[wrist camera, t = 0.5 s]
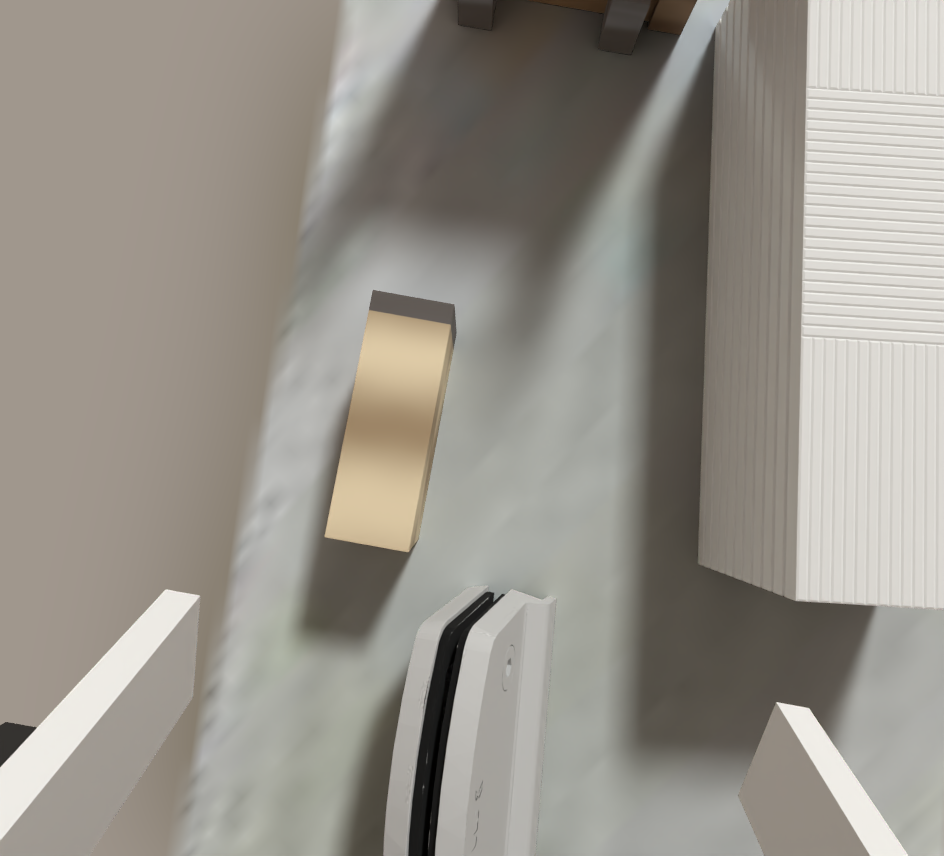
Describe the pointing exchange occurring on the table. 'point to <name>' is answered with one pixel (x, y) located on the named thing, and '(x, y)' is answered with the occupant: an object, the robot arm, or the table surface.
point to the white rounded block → (473, 729)
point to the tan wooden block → (393, 422)
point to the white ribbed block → (826, 302)
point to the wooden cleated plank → (624, 13)
